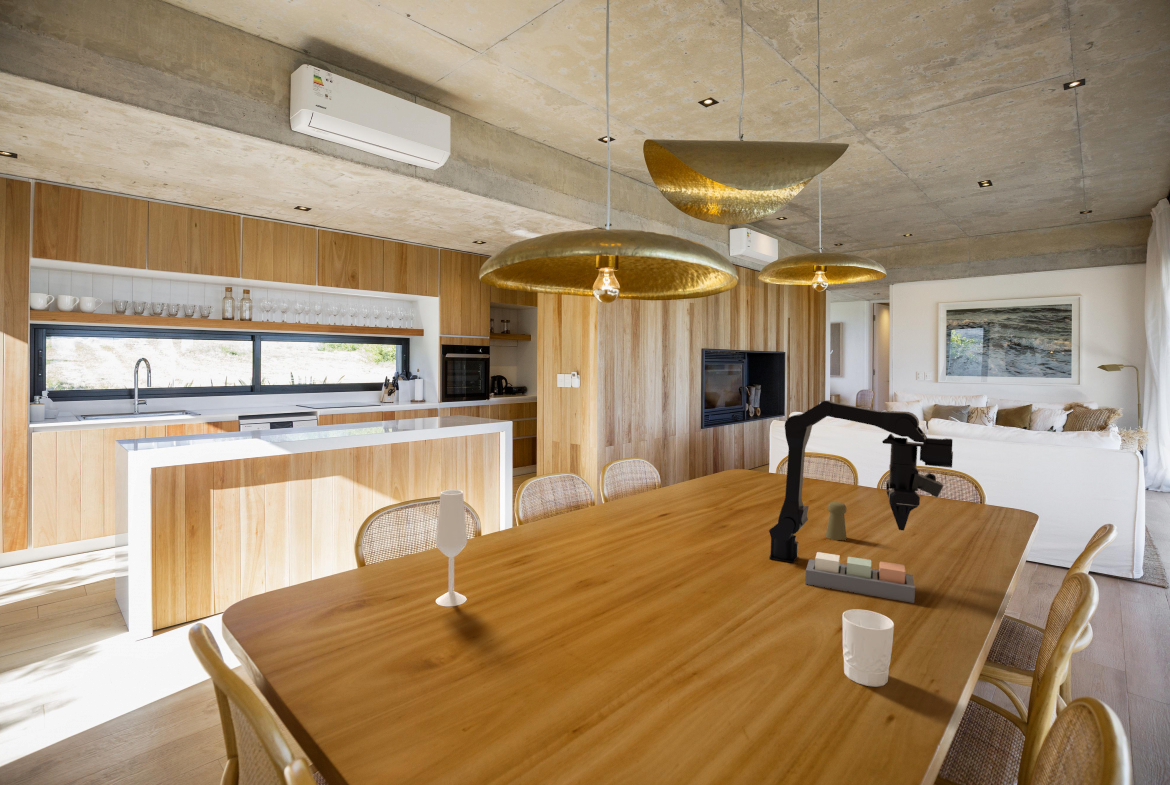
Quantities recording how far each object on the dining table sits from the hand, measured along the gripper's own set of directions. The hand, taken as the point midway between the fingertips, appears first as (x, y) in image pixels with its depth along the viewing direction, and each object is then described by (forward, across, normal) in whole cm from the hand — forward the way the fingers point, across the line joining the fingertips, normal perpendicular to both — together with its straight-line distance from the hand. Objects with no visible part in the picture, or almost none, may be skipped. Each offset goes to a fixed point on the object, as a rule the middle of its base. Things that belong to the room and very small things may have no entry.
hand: (900, 525), depth 143 cm
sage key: (+12, -9, +9) cm, 17 cm away
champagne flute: (+14, -61, +90) cm, 110 cm away
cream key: (+12, -9, +16) cm, 22 cm away
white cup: (+14, -54, +8) cm, 56 cm away
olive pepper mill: (+14, +32, +15) cm, 38 cm away
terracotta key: (+12, -10, +2) cm, 15 cm away
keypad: (+14, -10, +9) cm, 19 cm away
